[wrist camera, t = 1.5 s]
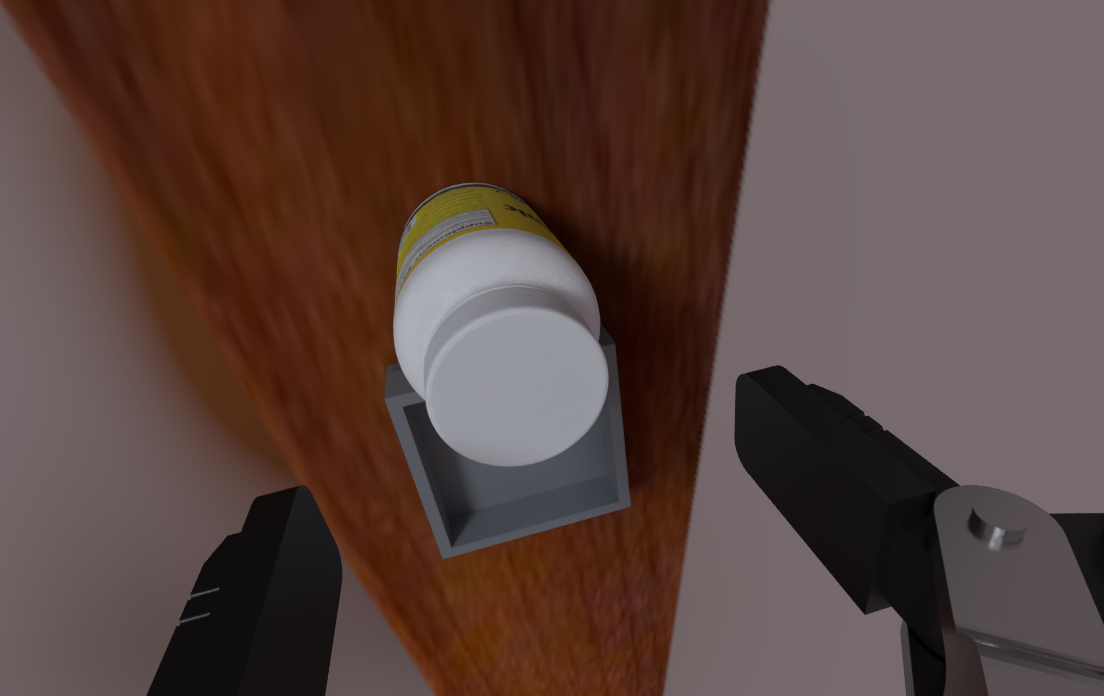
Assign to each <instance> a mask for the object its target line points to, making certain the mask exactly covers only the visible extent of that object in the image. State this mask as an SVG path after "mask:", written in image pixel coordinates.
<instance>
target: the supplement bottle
mask: <svg viewBox="0 0 1104 696" xmlns="http://www.w3.org/2000/svg"><path fill="white" fill-rule="evenodd" d="M393 328H394V344H395V350H396V354H397V357H398V361H399V364H400V366H401V369H402V371H403V373H404V375H405V377H406V379H407V380H408V382H409V383H410V385H411V386H412V387H413V389H414V390H415V391H416V392H417V393H418V394H419V395H420V396H421V397H422V398H423V399H424V400H425V401H426V408H427V412H428V415H429V418H430V420H431V423H432V424H433V426H434V428H435V430H436V431H437V433H438V434H439V436H440V437H441V438H442V439H443V440H444V441H445V443H447V444H448V445H449V446H450V447H451V448H452V449H454V450H455V451H456V452H458V453H459V454H461V455H463V456H465V457H467V458H469V459H471V460H474V461H477V462H479V463H483V464H488V465H492V466H505V467H513V466H523V465H529V464H534V463H537V462H541V461H544V460H546V459H549V458H551V457H554V456H556V455H558V454H559V453H561V452H563V451H565V450H566V449H568V448H569V447H571V446H572V445H573V444H574V443H576V442H577V441H578V440H579V439H580V438H581V437H583V436H584V435H585V433H586V432H587V431H588V430H589V429H590V428H591V426H592V425H593V424H594V422H595V421H596V419H597V418H598V416H599V414H600V412H601V410H602V407H603V405H604V402H605V399H606V396H607V391H608V383H609V374H608V366H607V361H606V357H605V354H604V352H603V349H602V347H601V345H600V343H599V342H598V341H599V335H600V314H599V308H598V303H597V299H596V296H595V293H594V290H593V288H592V286H591V284H590V282H589V280H588V279H587V277H586V275H585V274H584V272H583V271H582V269H581V268H580V266H579V265H578V263H577V262H576V261H575V260H574V259H573V257H572V256H571V255H570V254H569V253H568V251H567V250H566V249H565V248H564V247H563V246H562V244H561V243H560V242H559V241H558V239H557V238H556V237H555V235H554V234H553V233H552V232H551V231H550V230H549V229H548V227H547V226H546V225H545V224H544V223H543V222H542V221H541V219H540V218H539V217H538V216H537V214H536V213H535V212H534V211H533V210H532V209H531V208H530V207H529V206H528V205H527V204H526V203H525V202H524V201H523V200H521V199H520V198H519V197H518V196H516V195H515V194H513V193H511V192H509V191H507V190H505V189H503V188H500V187H497V186H494V185H490V184H484V183H465V184H459V185H454V186H451V187H448V188H445V189H443V190H441V191H438V192H437V193H435V194H433V195H432V196H431V197H429V198H428V199H426V200H425V201H424V202H423V203H422V204H421V205H420V206H419V207H418V208H417V209H416V210H415V211H414V212H413V214H412V215H411V217H410V218H409V220H408V222H407V224H406V226H405V228H404V231H403V233H402V237H401V240H400V245H399V252H398V265H397V281H396V296H395V311H394V323H393Z"/></svg>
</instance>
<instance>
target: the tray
mask: <svg viewBox="0 0 1104 696" xmlns="http://www.w3.org/2000/svg"><path fill="white" fill-rule="evenodd" d="M598 342H599V343H600V345H601V347H602V349H603V352H604V354H605V357H606V361H607V366H608V374H609V383H608V391H607V396H606V399H605V402H604V405H603V407H602V410H601V412H600V414H599V416H598V418H597V419H596V421H595V422H594V424H593V425H592V426H591V428H590V429H589V430H588V431H587V432H586V433H585V435H584V436H583V437H581V438H580V439H579V440H578V441H577V442H576V443H574V444H573V445H572V446H571V447H569V448H568V449H566V450H565V451H563V452H561V453H559V454H558V455H556V456H554V457H551V458H549V459H546V460H544V461H541V462H537V463H534V464H529V465H523V466H513V467H505V466H492V465H488V464H483V463H479V462H477V461H474V460H471V459H469V458H467V457H465V456H463V455H461V454H459V453H458V452H456V451H455V450H454V449H452V448H451V447H450V446H449V445H448V444H447V443H445V441H444V440H443V439H442V438H441V437H440V436H439V434H438V433H437V431H436V430H435V428H434V426H433V424H432V423H431V420H430V418H429V415H428V412H427V408H426V401H425V400H424V399H423V398H422V397H421V396H420V395H419V394H418V393H417V392H416V391H415V390H414V389H413V387H412V386H411V385H410V383H409V382H408V380H407V379H406V377H405V375H404V373H403V371H402V369H401V366H400V364H399V363H397V364H392V365H388V366H387V375H386V386H385V397H384V399H385V402H386V405H387V408H388V410H389V413H390V416H391V419H392V421H393V424H394V427H395V429H396V432H397V435H398V438H399V440H400V443H401V446H402V449H403V451H404V454H405V457H406V460H407V462H408V465H409V468H410V471H411V473H412V476H413V479H414V482H415V484H416V487H417V490H418V492H419V495H420V498H421V501H422V503H423V506H424V509H425V512H426V514H427V517H428V520H429V523H430V525H431V528H432V531H433V534H434V536H435V539H436V542H437V545H438V547H439V550H440V553H441V555H442V558H443V559H445V558H449V557H453V556H456V555H460V554H463V553H467V552H470V551H474V550H478V549H481V548H485V547H488V546H492V545H495V544H499V543H503V542H506V541H510V540H513V539H517V538H520V537H524V536H527V535H531V534H535V533H538V532H542V531H545V530H549V529H552V528H556V527H560V526H563V525H567V524H570V523H574V522H577V521H581V520H584V519H588V518H592V517H595V516H599V515H602V514H606V513H609V512H613V511H617V510H620V509H624V508H627V507H631V505H630V495H629V484H628V473H627V463H626V452H625V442H624V431H623V421H622V410H621V400H620V389H619V379H618V368H617V357H616V347H615V343H614V341H613V340H612V338H611V337H610V335H609V334H608V333H607V331H606V330H605V328H604V327H603V325H602V324H601V323H600V335H599V341H598Z"/></svg>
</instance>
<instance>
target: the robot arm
mask: <svg viewBox="0 0 1104 696" xmlns="http://www.w3.org/2000/svg"><path fill="white" fill-rule="evenodd" d="M735 399H736V400H735V436H734V437H735V446H736V450H737V454H738V457H739V459H740V461H741V463H742V465H743V467H744V468H745V470H746V471H747V472H748V474H749V475H750V476H751V477H752V478H753V480H754V481H755V482H756V483H757V484H758V486H759V487H760V488H761V489H762V491H763V492H764V493H765V494H766V495H767V497H768V498H769V499H770V500H771V501H772V503H773V504H774V505H775V506H776V508H777V509H778V510H779V511H780V512H781V514H782V515H783V516H784V517H785V518H786V520H787V521H788V522H789V523H790V525H791V526H792V527H793V528H794V529H795V531H796V532H797V533H798V534H799V536H800V537H801V538H802V539H803V540H804V542H805V543H806V544H807V545H808V546H809V548H810V549H811V550H812V551H813V552H814V553H815V555H816V556H817V557H818V559H819V560H820V561H821V562H822V563H823V565H824V566H825V567H826V568H827V569H828V571H829V572H830V573H831V574H832V575H833V577H834V578H835V579H836V580H837V582H838V583H839V584H840V585H841V587H842V588H843V589H844V590H845V591H846V593H847V594H848V595H849V596H850V597H851V599H852V600H853V601H854V602H855V604H856V605H857V606H858V607H859V608H860V610H861V611H862V612H863V613H864V614H865V615H866V614H869V613H872V612H875V611H879V610H881V609H885V608H888V607H890V606H892V607H893V608H894V610H895V611H896V612H897V613H898V614H899V615H900V616H901V618H902V619H903V621H902V625H901V632H900V635H901V645H902V656H903V666H904V677H905V687H906V696H1104V513H1078V514H1077V513H1075V514H1073V513H1071V514H1068V513H1067V514H1066V513H1065V514H1048V513H1047V512H1045V511H1044V510H1042V509H1041V508H1040V507H1038V506H1037V505H1035V504H1033V503H1031V502H1030V501H1028V500H1026V499H1024V498H1021V497H1020V496H1017V495H1015V494H1012V493H1009V492H1006V491H1003V490H1000V489H996V488H990V487H985V486H977V485H976V486H975V485H965V486H960V485H959V484H957V483H956V482H955V481H953V480H952V479H951V478H949V477H948V476H947V475H945V474H944V473H943V472H941V471H940V470H939V469H938V468H936V467H935V466H934V465H932V464H931V463H930V462H928V461H927V460H926V459H924V458H923V457H922V456H921V455H919V454H918V453H917V452H915V451H914V450H913V449H911V448H910V447H909V446H907V445H906V444H905V443H903V442H902V441H901V440H900V439H898V438H897V437H896V436H894V435H893V434H892V433H890V432H889V431H888V430H886V431H884V430H883V428H882V426H881V425H880V424H879V423H877V422H876V421H875V420H873V419H872V418H871V417H869V416H865V415H864V412H863V411H862V410H860V409H859V408H858V407H856V406H855V405H854V404H852V403H851V402H850V401H848V400H847V399H846V398H844V397H843V396H842V395H840V394H837V393H835V392H832V391H830V390H827V389H825V388H822V387H820V386H817V385H815V384H810V385H805V384H804V383H803V382H802V381H800V380H799V379H798V378H797V377H796V376H794V375H793V374H792V373H790V372H789V371H788V370H787V369H786V368H784V367H782V366H779V365H777V366H772V367H769V368H765V369H761V370H757V371H753V372H749V373H745V374H741V375H740V376H739V377H738V378H737V381H736V395H735ZM341 585H342V563H341V557H340V553H339V550H338V547H337V544H336V542H335V540H334V538H333V536H332V534H331V532H330V530H329V528H328V526H327V524H326V522H325V520H324V518H323V516H322V514H321V511H320V509H319V507H318V505H317V503H316V501H315V499H314V497H313V495H312V493H311V491H310V490H309V489H308V488H307V487H306V486H304V485H301V486H297V487H294V488H289V489H285V490H282V491H278V492H274V493H270V494H266V495H262V496H258V497H257V498H255V499H254V501H253V503H252V505H251V508H250V510H249V513H248V515H247V518H246V520H245V523H244V526H243V528H242V531H241V532H240V533H236V534H232V535H229V536H227V537H226V538H225V539H224V541H223V542H222V543H221V544H220V546H219V547H218V548H217V549H216V550H215V551H214V552H213V554H212V555H211V556H210V557H209V558H208V560H207V561H206V562H205V563H204V565H203V567H202V569H201V571H200V574H199V576H198V578H197V581H196V583H195V585H194V587H193V590H192V592H191V600H188V601H187V604H186V606H185V608H184V611H183V613H182V615H181V617H180V626H177V627H176V629H175V631H174V633H173V636H172V638H171V640H170V643H169V645H168V647H167V649H166V652H165V654H164V657H163V659H162V661H161V663H160V666H159V668H158V670H157V672H156V675H155V677H154V679H153V682H152V684H151V686H150V688H149V691H148V694H147V696H325V692H326V686H327V679H328V673H329V666H330V658H331V652H332V646H333V639H334V632H335V626H336V618H337V611H338V605H339V599H340V598H339V597H340V592H341Z"/></svg>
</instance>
